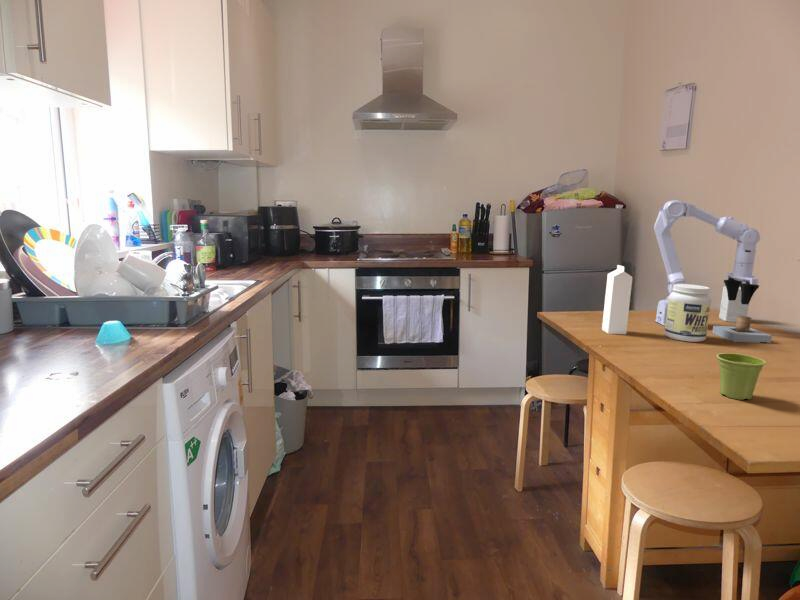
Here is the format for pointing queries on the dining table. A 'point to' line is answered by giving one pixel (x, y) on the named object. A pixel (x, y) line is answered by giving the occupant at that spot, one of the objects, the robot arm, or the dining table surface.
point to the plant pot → (738, 374)
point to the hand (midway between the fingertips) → (738, 302)
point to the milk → (617, 301)
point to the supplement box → (732, 307)
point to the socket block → (741, 335)
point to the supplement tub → (688, 313)
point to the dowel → (743, 324)
